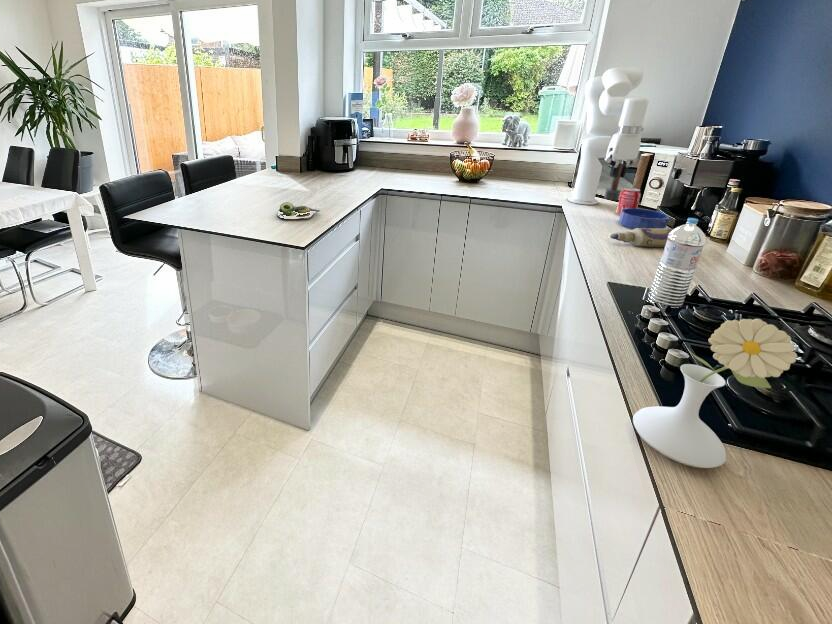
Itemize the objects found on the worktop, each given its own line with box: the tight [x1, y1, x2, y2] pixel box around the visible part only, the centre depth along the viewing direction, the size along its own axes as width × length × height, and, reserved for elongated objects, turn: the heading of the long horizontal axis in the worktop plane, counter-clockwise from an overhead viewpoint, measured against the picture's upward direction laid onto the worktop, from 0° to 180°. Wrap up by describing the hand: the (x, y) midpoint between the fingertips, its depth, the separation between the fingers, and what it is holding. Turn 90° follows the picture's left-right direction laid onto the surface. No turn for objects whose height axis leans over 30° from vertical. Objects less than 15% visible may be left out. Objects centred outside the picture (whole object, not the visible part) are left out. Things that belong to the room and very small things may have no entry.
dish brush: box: [603, 161, 624, 201], centre depth 164 cm, size 5×5×15 cm
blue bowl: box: [618, 207, 670, 230], centre depth 164 cm, size 15×15×6 cm
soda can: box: [615, 187, 642, 217], centre depth 176 cm, size 7×7×12 cm
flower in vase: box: [632, 318, 798, 469], centre depth 59 cm, size 13×11×25 cm
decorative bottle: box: [609, 228, 674, 248], centre depth 143 cm, size 26×8×7 cm, turn 82°
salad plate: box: [276, 201, 321, 220], centre depth 182 cm, size 19×18×5 cm
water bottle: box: [646, 217, 707, 308], centre depth 98 cm, size 7×7×25 cm
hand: (616, 176), depth 163 cm, fingers closed on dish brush, 2 cm apart
